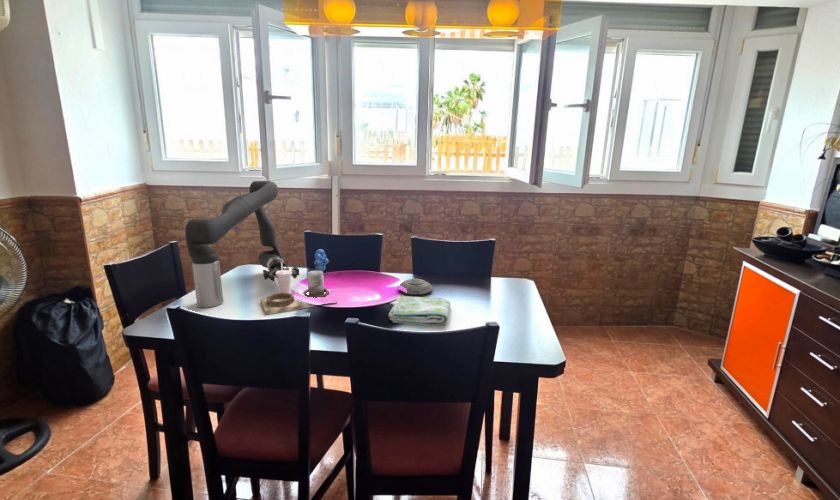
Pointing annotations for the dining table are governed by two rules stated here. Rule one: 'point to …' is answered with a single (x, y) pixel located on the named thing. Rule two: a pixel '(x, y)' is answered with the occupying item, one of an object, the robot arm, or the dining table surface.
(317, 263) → the grapes
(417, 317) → the towel
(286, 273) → the smoothie
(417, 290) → the grey rounded dome
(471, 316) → the dining table surface
